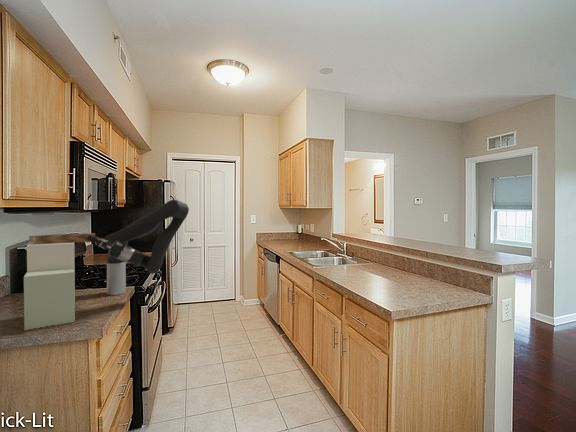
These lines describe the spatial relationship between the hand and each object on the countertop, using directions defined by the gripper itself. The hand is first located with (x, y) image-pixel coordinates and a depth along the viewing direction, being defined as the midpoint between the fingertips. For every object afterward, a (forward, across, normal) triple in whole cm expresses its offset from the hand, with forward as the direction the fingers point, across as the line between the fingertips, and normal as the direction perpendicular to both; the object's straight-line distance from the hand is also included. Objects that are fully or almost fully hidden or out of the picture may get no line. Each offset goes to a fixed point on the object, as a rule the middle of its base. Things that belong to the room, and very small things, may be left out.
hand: (87, 236), depth 141 cm
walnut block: (+6, 0, +6) cm, 9 cm away
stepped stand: (-6, +5, +36) cm, 37 cm away
